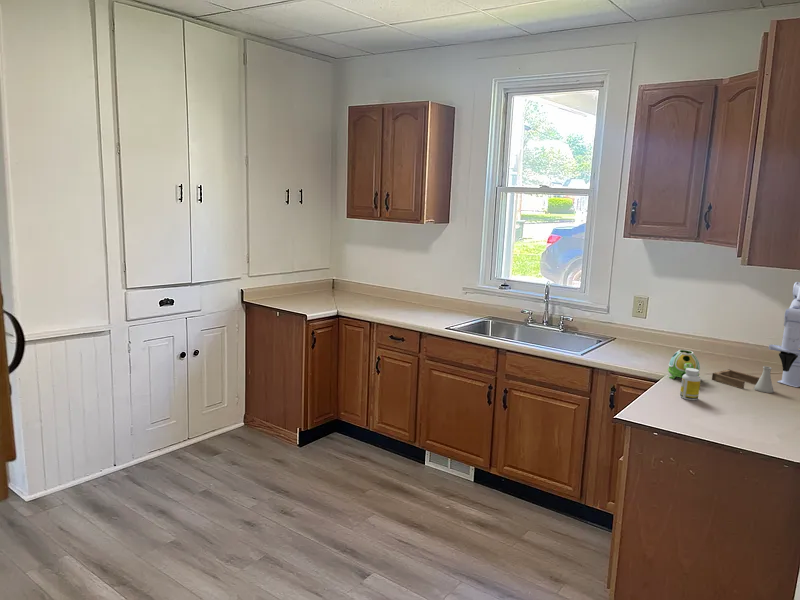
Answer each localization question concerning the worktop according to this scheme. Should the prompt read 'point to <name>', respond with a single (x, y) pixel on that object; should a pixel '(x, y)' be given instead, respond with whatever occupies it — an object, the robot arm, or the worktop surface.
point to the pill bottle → (690, 384)
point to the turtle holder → (682, 363)
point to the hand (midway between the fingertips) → (785, 370)
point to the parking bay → (734, 378)
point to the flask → (765, 381)
